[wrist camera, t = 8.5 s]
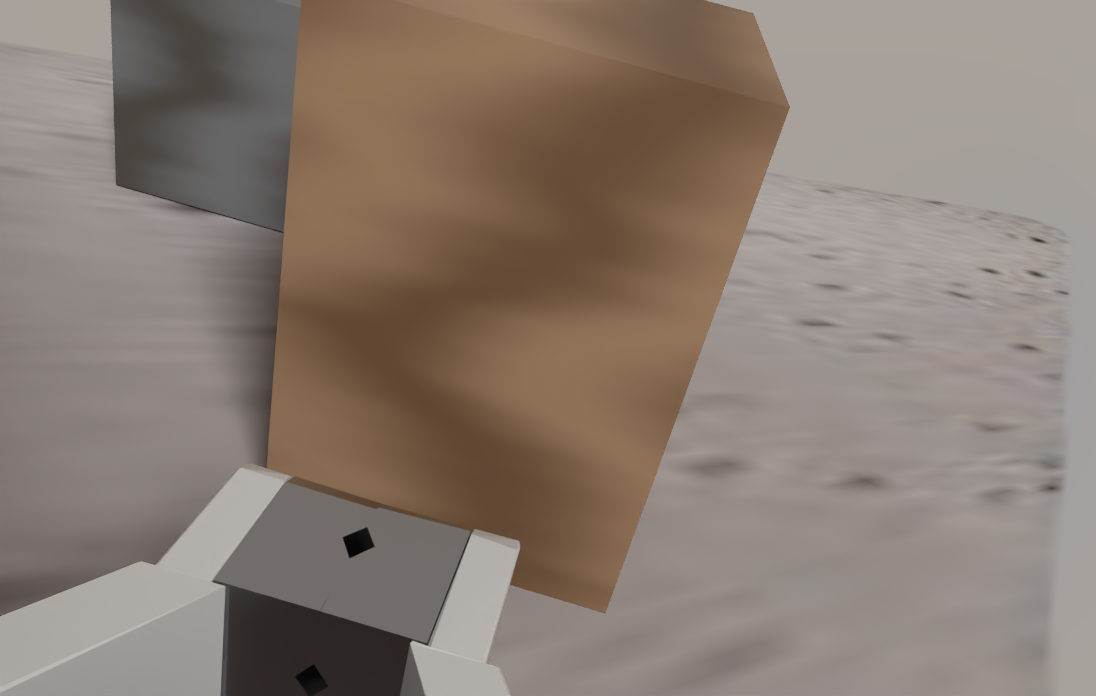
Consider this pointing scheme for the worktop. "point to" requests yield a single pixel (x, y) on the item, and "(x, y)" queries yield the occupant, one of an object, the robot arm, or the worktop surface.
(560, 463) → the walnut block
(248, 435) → the worktop surface
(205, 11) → the charcoal board
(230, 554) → the robot arm
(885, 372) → the worktop surface
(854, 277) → the worktop surface
